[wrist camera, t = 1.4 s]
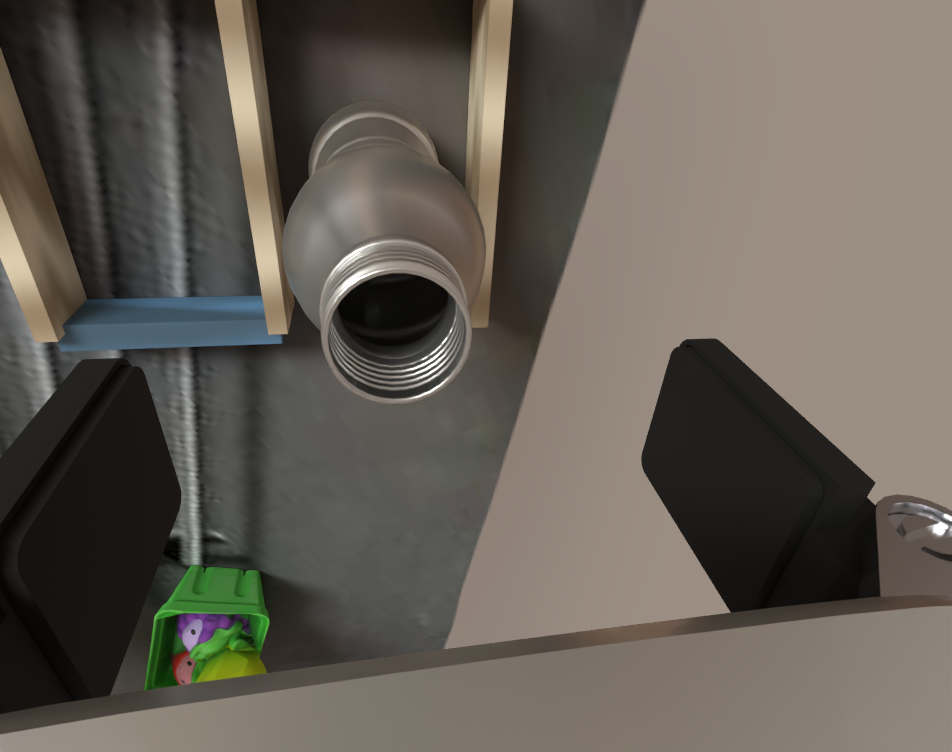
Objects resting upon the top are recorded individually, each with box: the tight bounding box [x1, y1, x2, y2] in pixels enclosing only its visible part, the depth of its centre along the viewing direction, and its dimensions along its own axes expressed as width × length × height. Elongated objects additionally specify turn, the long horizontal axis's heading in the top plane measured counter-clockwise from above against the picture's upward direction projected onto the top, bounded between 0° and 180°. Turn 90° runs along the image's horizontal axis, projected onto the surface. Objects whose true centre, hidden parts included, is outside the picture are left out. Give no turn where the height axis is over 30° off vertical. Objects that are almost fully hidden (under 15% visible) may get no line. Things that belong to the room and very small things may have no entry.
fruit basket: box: [144, 565, 270, 691], centre depth 41 cm, size 11×9×11 cm
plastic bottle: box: [282, 101, 486, 404], centre depth 21 cm, size 6×7×20 cm
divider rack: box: [0, 0, 513, 352], centre depth 27 cm, size 18×23×4 cm
